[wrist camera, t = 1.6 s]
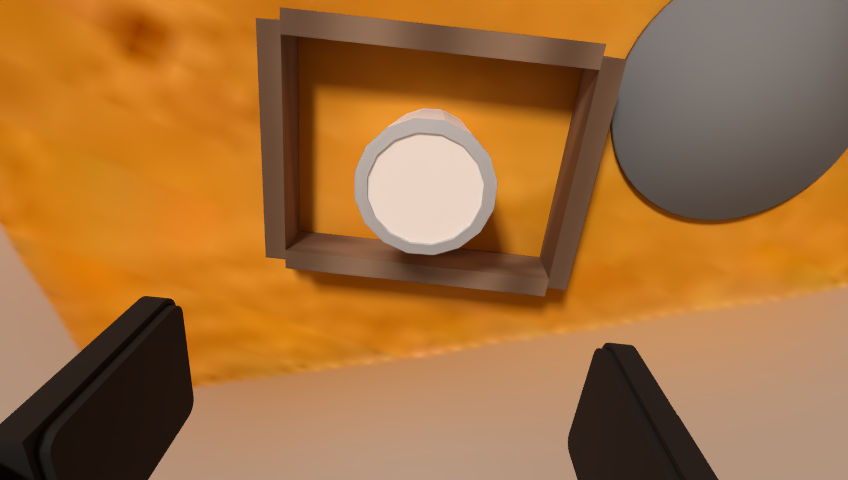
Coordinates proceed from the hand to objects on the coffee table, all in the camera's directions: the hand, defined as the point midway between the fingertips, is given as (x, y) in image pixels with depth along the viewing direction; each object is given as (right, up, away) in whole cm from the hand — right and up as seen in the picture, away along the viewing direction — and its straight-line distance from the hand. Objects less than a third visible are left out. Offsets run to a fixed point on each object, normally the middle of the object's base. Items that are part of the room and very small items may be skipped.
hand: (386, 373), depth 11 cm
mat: (+19, +11, +16) cm, 27 cm away
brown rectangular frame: (+1, +8, +18) cm, 20 cm away
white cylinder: (+1, +8, +18) cm, 20 cm away
